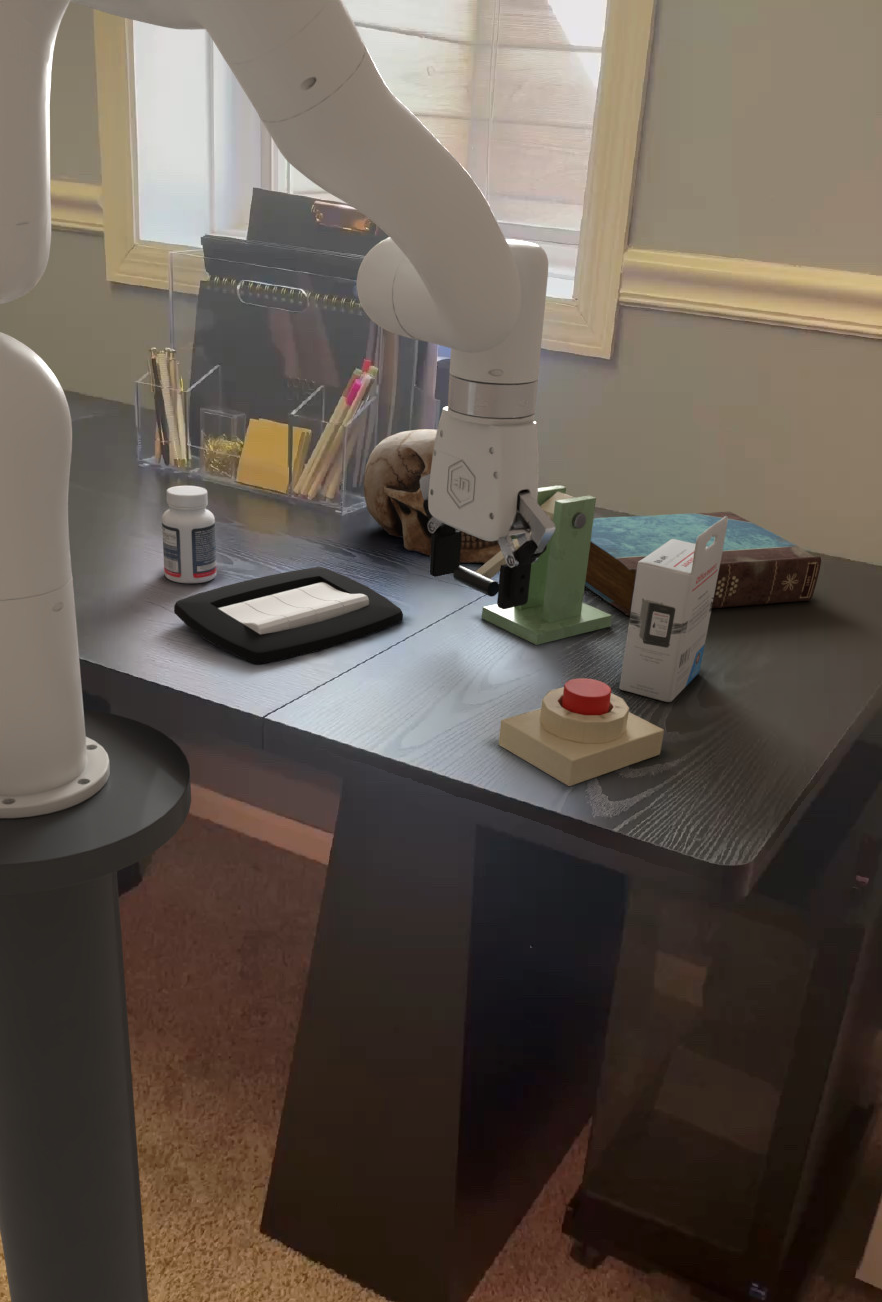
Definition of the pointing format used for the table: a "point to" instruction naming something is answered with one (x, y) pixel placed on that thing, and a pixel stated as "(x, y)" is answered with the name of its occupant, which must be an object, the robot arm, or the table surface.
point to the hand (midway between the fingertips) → (477, 589)
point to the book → (749, 556)
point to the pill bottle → (188, 536)
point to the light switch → (287, 614)
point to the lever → (497, 560)
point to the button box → (579, 739)
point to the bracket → (557, 579)
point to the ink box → (671, 615)
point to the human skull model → (410, 494)
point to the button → (586, 696)
